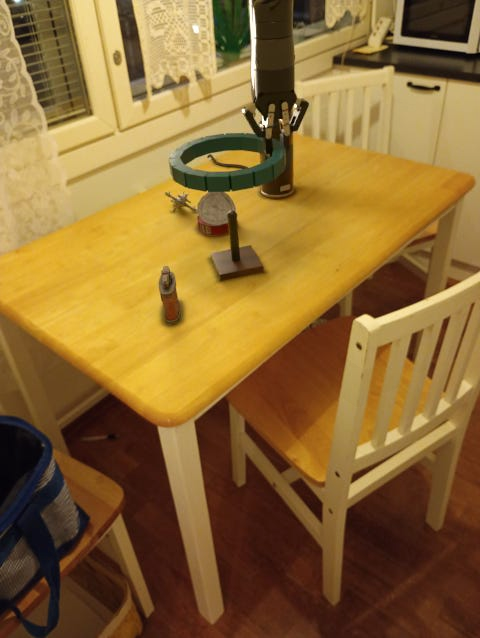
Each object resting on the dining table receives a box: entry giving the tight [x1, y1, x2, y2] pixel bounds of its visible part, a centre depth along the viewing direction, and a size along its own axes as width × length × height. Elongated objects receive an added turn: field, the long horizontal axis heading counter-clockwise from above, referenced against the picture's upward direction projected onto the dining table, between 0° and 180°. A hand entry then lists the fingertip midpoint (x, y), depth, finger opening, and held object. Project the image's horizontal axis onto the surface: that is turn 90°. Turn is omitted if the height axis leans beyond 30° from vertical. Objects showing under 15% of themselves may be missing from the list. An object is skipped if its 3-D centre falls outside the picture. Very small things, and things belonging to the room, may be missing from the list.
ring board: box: [209, 210, 264, 282], centre depth 117 cm, size 10×10×14 cm
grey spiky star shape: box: [164, 190, 197, 213], centre depth 144 cm, size 10×6×9 cm
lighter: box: [158, 265, 182, 325], centre depth 105 cm, size 8×3×10 cm, turn 5°
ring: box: [167, 132, 286, 193], centre depth 106 cm, size 23×23×3 cm
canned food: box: [196, 191, 237, 237], centre depth 135 cm, size 11×10×10 cm
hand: (276, 153), depth 108 cm, fingers closed on ring, 2 cm apart
